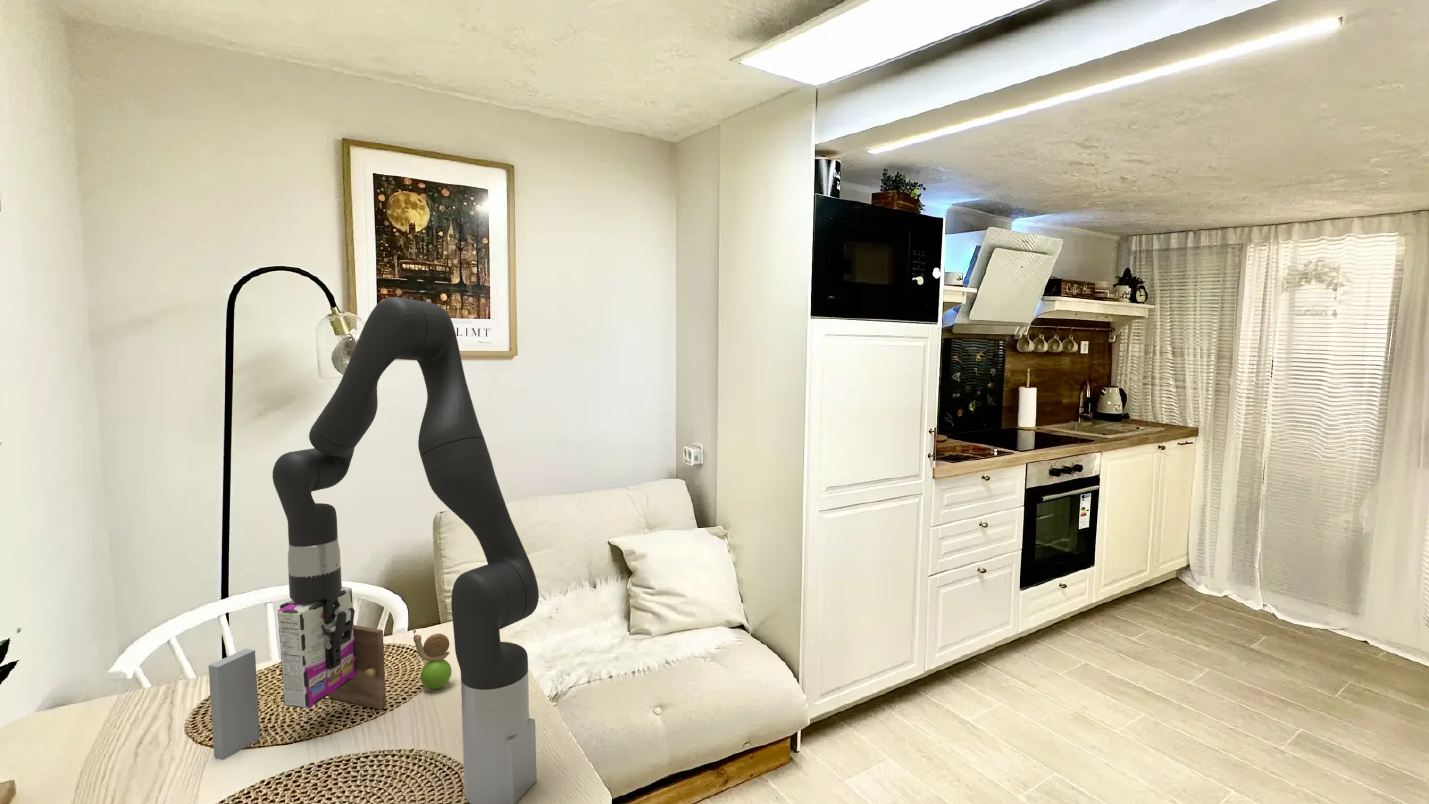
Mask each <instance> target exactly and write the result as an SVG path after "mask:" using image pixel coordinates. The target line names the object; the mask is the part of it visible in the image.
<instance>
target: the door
mask: <svg viewBox="0 0 1429 804" xmlns="http://www.w3.org/2000/svg"><path fill="white" fill-rule="evenodd" d="M354 638H355V656H356V673H357V676H356V677H354V678H353V679H351V680H350V681H348V682H347V683H345V684H344V685H342V686H341V687H340V688H338V689H337V690H335V691H334V692H332V693H331V694H329V697H330V699H334V700H339V701H343V702H347V703H351V702H353V703H352V704H355V703H356V705H359V706H360V705H361V706H365V707H370V708H374V709H379V710H382V709H383V708H385V707H386V706H387V699H386V671H385V651H384V650H385V646H384V630H383V629H379V628H373V627H368V626H362V625H357V624H354Z"/></svg>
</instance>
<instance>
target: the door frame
mask: <svg viewBox="0 0 1429 804" xmlns="http://www.w3.org/2000/svg"><path fill="white" fill-rule="evenodd" d="M257 676H258V675H257V663H256V650H255V649H250V648H244V649H241V650H240V651H238V652H235V653H233V654H231V655H229V656H227V657H224V658H222V659H219V660H216V661H215V662H213V663H210V664H208V677H209V678H208V680H209V681H208V682H209V694H210V695H209V696H210V714H211V727H212V728H211V730H212V742H213V743H212V744H213V745H212V747H213V757H214V759H219V760H223V761H224V760H226V759H227V758H229V757H231V756H233V755H235V754H236V753H238V752H239V751H242V749H244V748H246V747H248V746H250V745H251V744H253V743H254V742H257V741H258V740H260V739H261V733H260V715H259V699H258V698H259V697H258V677H257ZM328 696H329V695H328ZM259 738H260V739H259Z"/></svg>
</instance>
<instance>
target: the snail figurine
mask: <svg viewBox="0 0 1429 804" xmlns="http://www.w3.org/2000/svg"><path fill="white" fill-rule="evenodd" d="M412 631H413V638H412V639H413V642H414V645H415V648H416V651H417V654H418V656H419V657H420V658H421V659H422V660H424V661H426V663H425V664H424V665H423V667H422V668H421V671H420V677H419V678H420V682H421V683H422V686H424V687H426V688H427V689H430V690H438V689H440V688H441V689H442V688H443V687H444V686H445V685H446V684H448V682H449V681H450V679H451V678H452V677H451V676H452V667H451V664H450V663H449V662H448V660H445V659H446V658H447V657H448V656H449V655H450V654H451V653H450V651H448V650H449V648H450V640H449V638H448V637H447V636H446V635H445V634H443V633H433V634H432V635H430V636H429V637H427V638H426V640H425V641H424V643H422V636H421V634H419V633H418V634H416V633H417V629H416V628H413V629H412Z"/></svg>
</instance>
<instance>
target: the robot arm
mask: <svg viewBox="0 0 1429 804" xmlns="http://www.w3.org/2000/svg"><path fill="white" fill-rule="evenodd" d="M366 319H367V320H366V321H365V324H364V325H363V328H362V331H361V333H360V334H359V337H358V338H357V339H358V340H357V342H356V344H355V347H354V348H353V351H352V353H351V355H350V358H349V361H348V363H347V366H346V368H345V369H344V370H345V371H344V372H343V375H342V378H341V380H340V382H339V384H338V386H337V387H336V390H335V391H334V393H333V394H332V396H331V398H330V400H329V401H328V403H327V404H326V405H325V407H324V408H323V410H322V411H321V413H320V414H319V415H318V417H317V419H315V421H314V422H313V425H312V426H311V428H310V431H309V432H308V439H309V442H310V444H311V446H313V448H309V449H302V450H301V449H300V450H294V451H288V452H286V453H283V454H282V455H281V456H279V457H278V459H277V460H276V462H274V466H273V468H272V482H273V486H274V488H275V491H276V493H277V496H278V498H279V501H280V503H281V506H282V507H281V508H282V509H283V512H284V514H285V516H286V520H287V535H288V536H287V537H288V552H287V571H288V573H287V574H288V590H289V592H288V594H289V598H290V600H289V601H287V602H284V603H282V604H280V605H279V609H281V608H284V607H286V606H288V605H290V604H292V603H294V602H296V601H297V602H313V601H319V602H322V604H323V618H324V623H325V624H326V625H327V624H330V623H332V622H333V620H334V621H335V624H334V626H333V627H331V628H329V629H325V627H324V624H323V625H321V635H322V636H324V644H325V647H326V649H325V657H326V669H329V670H332V669H333V668H335V667H337V666H339V664H340V663H341V645H342V644H344V643H346V642H348V641H350V640H351V635H352V628H353V621H354V619H355V609H354V607H353V608H349V609H344V608H342V607H340V603H339V601H338V594H339V592H340V591H341V589H342V587H343V585H342V566H341V564H342V563H341V549H340V545H339V543H340V542H339V536H338V519H337V518H338V516H337V511H336V508H335V507H334V506H333V505H331V504H330V503H329V504H328V503H324V502H323V503H321V502H319V503H318V502H317V503H316V502H315V500H314V498H313V495H312V493H313V492H315V491H320V490H325V489H329V488H332V487H335V486H336V485H338V484H339V483H340V482H341V481H342V480H343V479H344V478H345V477H346V475H347V473H348V471H349V470H350V466H351V462H352V459H353V456H354V452H355V448H356V446H357V445H358V444H359V442H360V441H361V440H362V438H363V437H364V436H365V435H366V432H367V431H368V430H369V429H370V427H371V426H372V424H373V422H374V420H375V418H376V415H377V411H378V407H379V406H378V403H379V401H378V384H379V380H380V378H381V376H382V375H383V373H384V372H385V370H387V369H388V367H389V366H390V365H391V364H392V363H393V362H394V361H395V360H406V361H417V363H418V365H419V368H420V370H421V373H422V375H423V381H424V383H425V388H426V396H427V397H426V406H425V410H424V413H423V416H422V421H421V423H420V428H419V433H418V434H419V435H418V441H417V443H418V444H417V447H418V451H419V456H420V460H421V461H422V463H421V464H422V465H423V469H424V472H425V476H426V478H427V481H428V484H429V487H430V488H431V490H432V492H434V494H435V495H436V497H437V498H438V500H440V501H441V502H442V503H443V504H444V505H445V507H447V508H448V509H449V510H450V511H452V513H453V514H455V515H456V516H457V517H458V518H459V519H461V520H462V521H463V522H464V524H466V526H468V527H469V529H470V530H471V531H472V532H473V534H474V536H476V539H477V540H478V542H479V544H480V547H481V548H482V552H483V554H484V556H485V559H486V562H487V564H485V565H482V566H479V567H476V568H472V569H469V570H467V571H464V572H463V573H461V574H460V575H458V577H457V578H456V579H455V581H454V583H453V587H452V589H451V597H450V598H451V600H450V601H451V605H450V606H451V617H452V627H453V636H454V637H453V639H454V651H455V656H456V657H455V658H456V661H457V663H458V667H459V671H460V687H461V688H460V689H461V691H460V692H461V693H460V694H461V721H462V723H461V725H462V726H461V727H462V728H461V729H462V755H463V756H462V758H463V760H462V761H463V781H464V782H463V783H464V785H463V786H464V788H463V789H464V797H465V799H466V801H467V802H468V803H469V804H517V803H518V802H519V800H520V799H521V798H522V797H523V796H524V795H525V794H526V792H528V790H529V789H530V788H531V787H532V786H533V785H534V783H536V781H538V780H537V742H536V741H537V739H536V738H537V737H536V734H537V733H536V720H535V719H534V718H530V707H529V706H530V705H529V704H530V702H529V701H530V697H529V695H530V694H529V692H530V691H529V658H528V652H527V650H526V648H524V647H523V646H522V645H519V644H516V643H513V642H509V641H501V633H500V631H501V630H502V629H504V628H506V627H509V626H511V625H512V624H515V623H518V622H520V621H522V620H524V619H527V618H528V617H530V616H531V615H533V613H534V612H536V609H537V607H538V603H539V597H540V595H539V586H538V580H537V577H536V574H535V571H534V568H533V566H532V564H531V561H530V559H529V557H528V554H527V551H526V550H525V548H524V546H523V543H522V540H521V538H520V536H519V534H518V532H517V530H516V527H515V525H514V523H513V519H511V515H510V512H509V510H508V507H507V505H506V501H505V499H504V497H503V494H502V490H501V487H500V485H499V482H498V479H497V476H496V472H495V469H494V464H493V462H492V458H491V455H490V452H489V448H488V446H487V443H486V440H485V436H484V434H483V431H482V428H481V426H480V424H479V420H478V417H477V414H476V411H475V408H474V407H475V406H474V403H473V400H472V398H471V393H470V390H469V387H468V383H467V380H466V376H465V372H464V371H465V370H464V365H463V362H462V356H461V352H460V347H459V342H458V338H457V333H456V330H455V329H456V328H455V326H454V323H453V320H452V319H451V316H450V315H449V313H448V312H447V311H446V309H444V308H443V307H442V306H440V305H438V304H436V303H433V302H429V301H422V300H418V299H417V300H416V299H412V298H411V299H410V298H407V297H398V296H395V297H394V296H393V297H391V296H389V297H386V298H383V299H382V300H380V302H378V303H377V304H376V305H375V306H374V308H373V309H372V310H371V312H370V314H369V315H368V317H367V318H366ZM331 632H333V636H334V639H332V640H331V637H330V633H331ZM343 633H344V635H343ZM342 635H343V636H342Z"/></svg>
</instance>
